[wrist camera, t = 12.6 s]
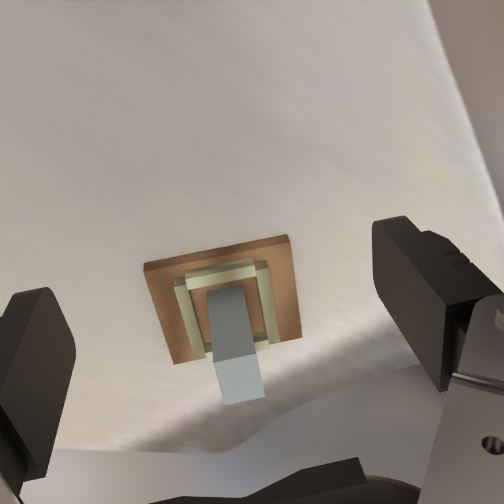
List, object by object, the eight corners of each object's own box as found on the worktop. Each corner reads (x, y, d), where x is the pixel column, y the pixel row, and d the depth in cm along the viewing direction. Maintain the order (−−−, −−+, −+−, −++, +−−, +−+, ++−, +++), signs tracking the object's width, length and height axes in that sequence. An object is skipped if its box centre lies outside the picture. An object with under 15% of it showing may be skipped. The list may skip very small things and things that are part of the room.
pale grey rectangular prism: (216, 330, 49) (224, 405, 41) (206, 291, 47) (213, 362, 38) (249, 323, 49) (265, 396, 41) (241, 283, 47) (256, 353, 38)
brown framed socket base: (173, 354, 52) (173, 374, 50) (144, 263, 46) (142, 280, 43) (299, 328, 53) (305, 346, 50) (286, 234, 46) (293, 249, 44)
